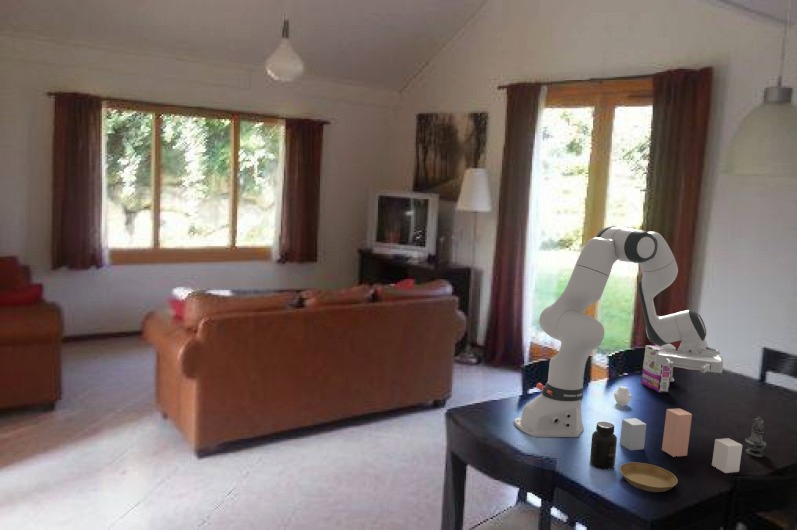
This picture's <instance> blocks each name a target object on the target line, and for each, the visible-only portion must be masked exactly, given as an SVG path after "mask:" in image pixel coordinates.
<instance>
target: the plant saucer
mask: <svg viewBox="0 0 797 530" xmlns="http://www.w3.org/2000/svg"><path fill="white" fill-rule="evenodd" d="M619 472H620V473H621V475H622V477H623V479H625V480H626V482H627V483H628V484H630V485H631V486H633V487H634V488H637V489H639V490H642V491H645V492H652V493H663V492H667V491H669V490H671V489H673V488H674V487H675V486H676V485H677V484H678V482H679V480H678V478H677V476H676V475H675V473H672V472H671V471H669V470H668V469H665V468H663V467H660V466H657V465H654V464H650V463H645V462H626V463H623V464H621V465H620V467H619Z"/></svg>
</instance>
